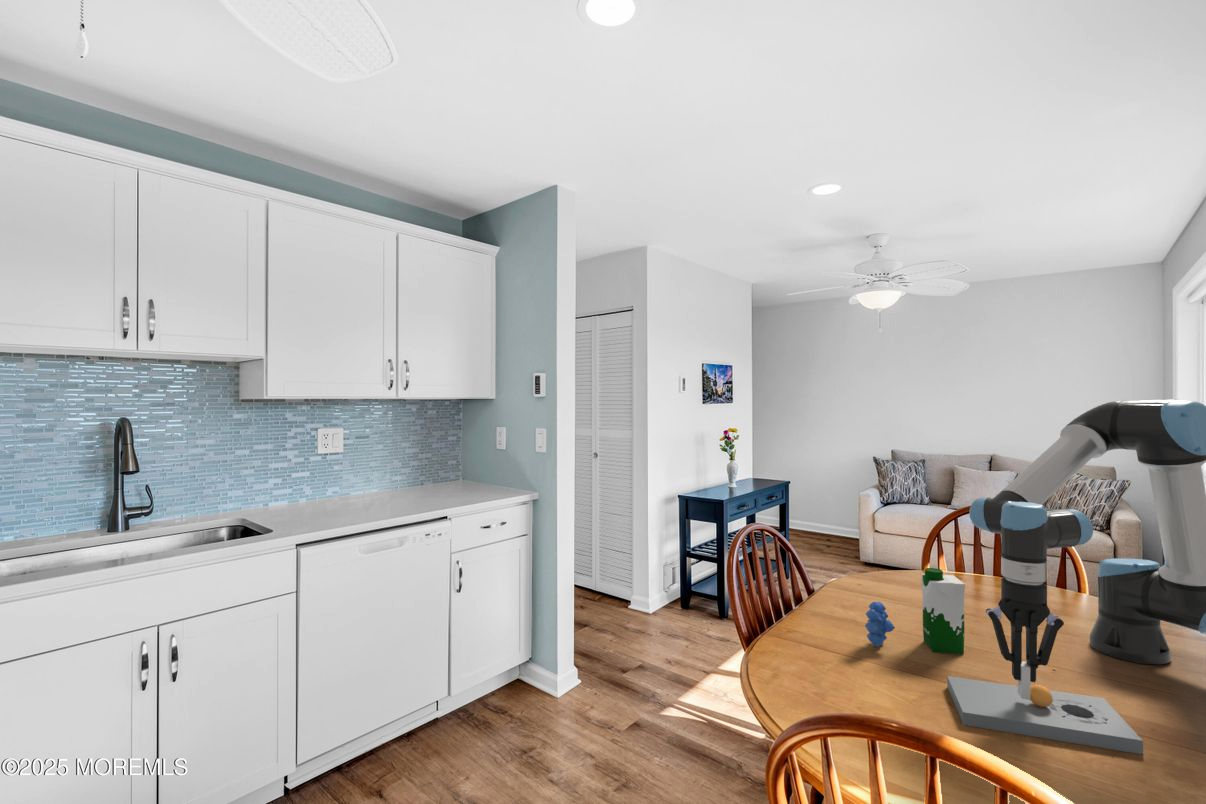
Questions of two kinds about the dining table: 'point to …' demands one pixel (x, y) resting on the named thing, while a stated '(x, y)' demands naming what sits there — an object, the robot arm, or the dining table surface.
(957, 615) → the milk carton
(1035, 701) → the ball
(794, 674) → the dining table surface
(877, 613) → the grapes
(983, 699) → the plate
